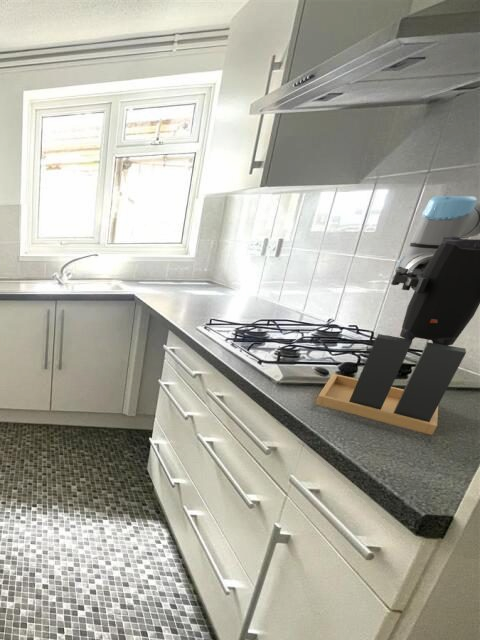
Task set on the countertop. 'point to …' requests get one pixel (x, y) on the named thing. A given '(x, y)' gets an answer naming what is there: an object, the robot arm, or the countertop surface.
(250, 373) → the countertop surface
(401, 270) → the robot arm
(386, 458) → the countertop surface
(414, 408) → the charcoal box
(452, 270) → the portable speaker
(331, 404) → the oak tray
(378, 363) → the charcoal box
